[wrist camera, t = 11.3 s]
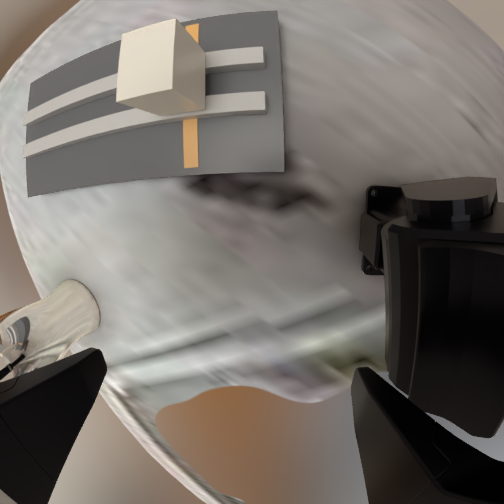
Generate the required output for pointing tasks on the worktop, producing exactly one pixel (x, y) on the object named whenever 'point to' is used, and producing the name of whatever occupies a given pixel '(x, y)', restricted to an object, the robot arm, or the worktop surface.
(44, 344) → the beer glass
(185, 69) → the fader knob
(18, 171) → the worktop surface
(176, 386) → the worktop surface
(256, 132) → the fader console
